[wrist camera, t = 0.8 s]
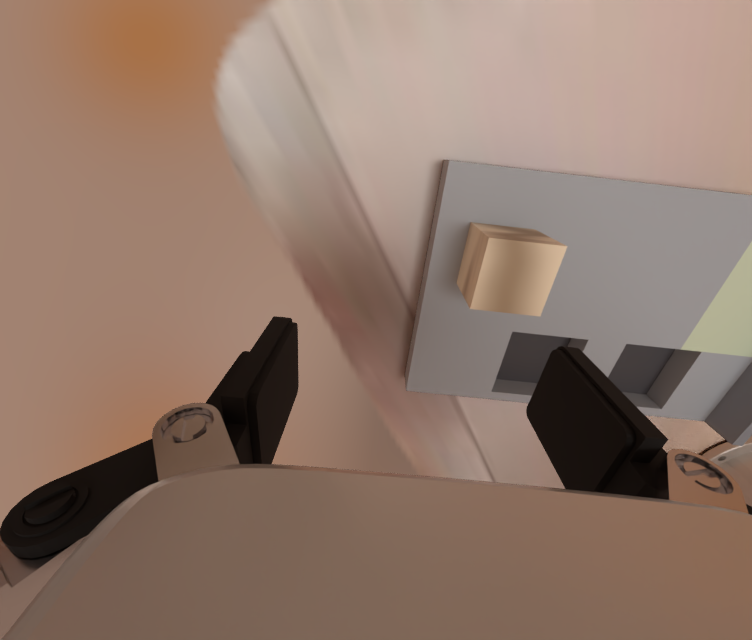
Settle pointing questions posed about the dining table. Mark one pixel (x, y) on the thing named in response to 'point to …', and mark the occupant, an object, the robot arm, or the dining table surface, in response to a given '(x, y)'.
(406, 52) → the dining table surface
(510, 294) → the block
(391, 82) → the dining table surface
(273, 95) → the dining table surface
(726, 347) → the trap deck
